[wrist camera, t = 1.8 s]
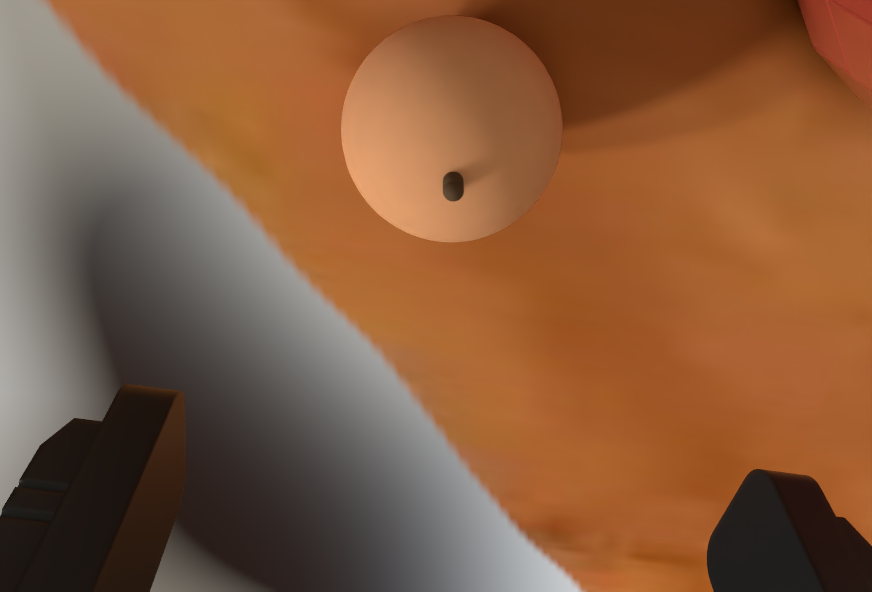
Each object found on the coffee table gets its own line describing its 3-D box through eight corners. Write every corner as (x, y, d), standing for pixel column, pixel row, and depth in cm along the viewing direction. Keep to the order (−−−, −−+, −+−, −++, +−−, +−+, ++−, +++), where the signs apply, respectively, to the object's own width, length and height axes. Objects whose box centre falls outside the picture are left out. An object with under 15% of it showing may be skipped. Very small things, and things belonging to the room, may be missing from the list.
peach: (313, 104, 23) (273, 209, 18) (438, -57, 21) (437, 6, 15) (459, 215, 26) (465, 338, 20) (589, 82, 23) (637, 181, 17)
